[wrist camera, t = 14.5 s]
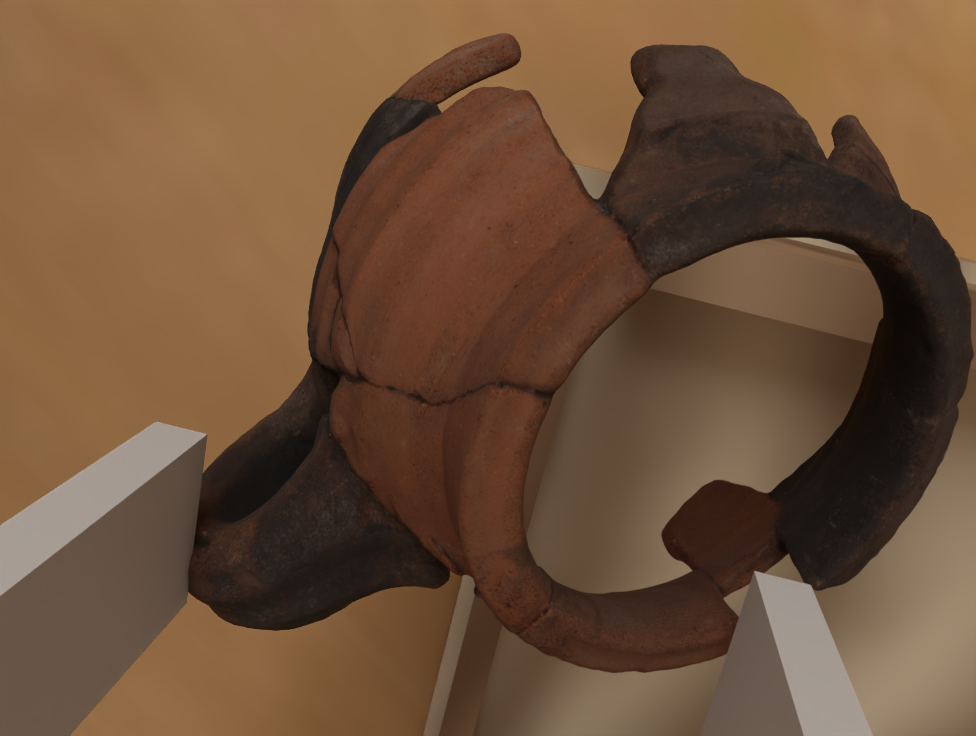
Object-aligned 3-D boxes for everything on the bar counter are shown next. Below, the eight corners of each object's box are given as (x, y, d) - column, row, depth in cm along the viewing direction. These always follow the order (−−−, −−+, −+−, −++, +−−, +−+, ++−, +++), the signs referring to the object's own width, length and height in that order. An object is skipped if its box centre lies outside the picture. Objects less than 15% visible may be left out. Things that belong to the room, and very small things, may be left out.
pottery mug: (584, -119, 15) (930, -115, 9) (779, 274, 21) (1094, 474, 14) (38, 312, 16) (-51, 646, 9) (362, 591, 21) (464, 939, 14)
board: (397, 839, 32) (361, 966, 27) (567, 162, 25) (558, 173, 20) (902, 983, 31) (957, 1141, 26) (1223, 322, 24) (1375, 374, 19)
